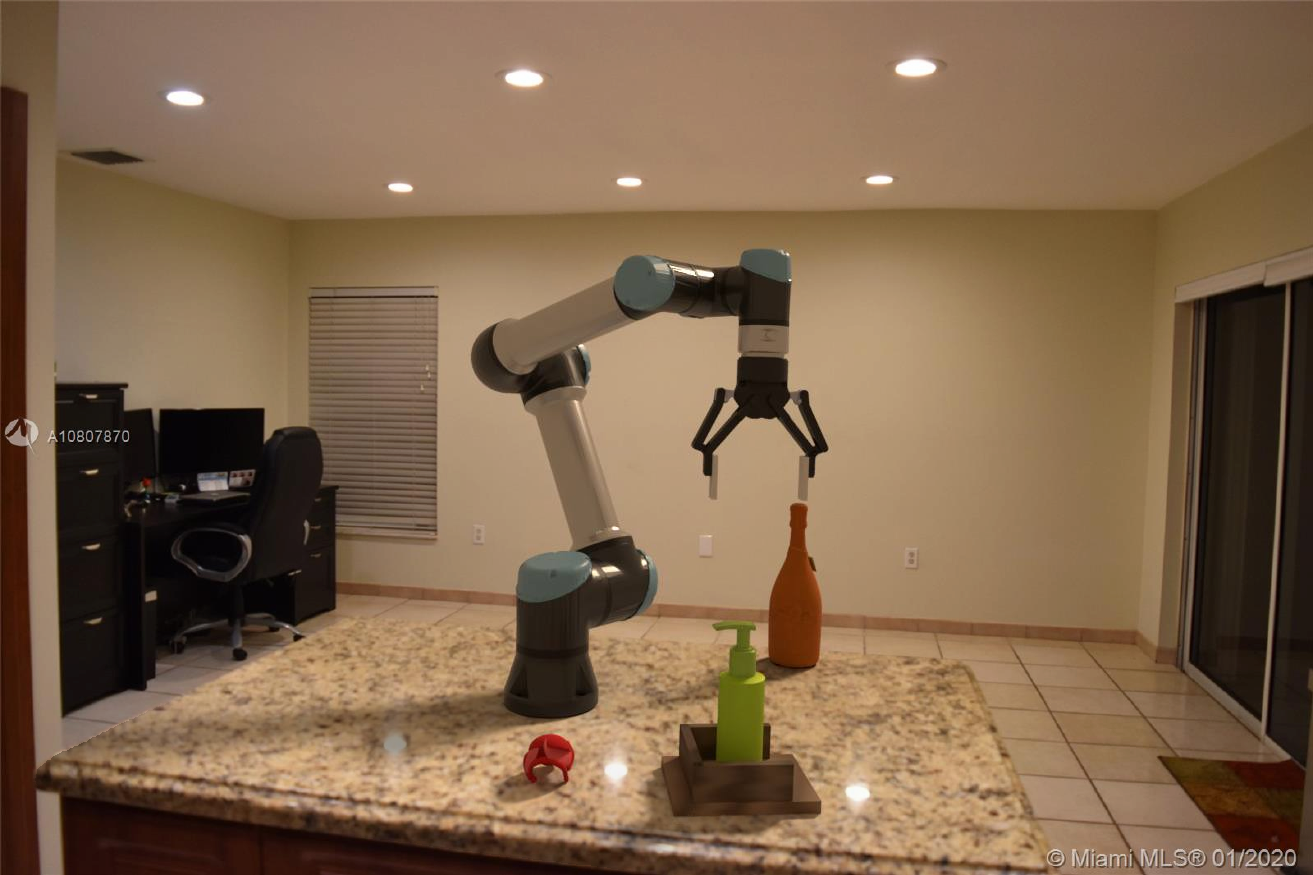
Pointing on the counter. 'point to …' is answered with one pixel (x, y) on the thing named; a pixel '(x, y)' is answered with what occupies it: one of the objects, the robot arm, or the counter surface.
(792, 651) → the wine bottle
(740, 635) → the soap dispenser
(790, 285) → the robot arm
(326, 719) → the counter surface
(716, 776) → the u rest
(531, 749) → the cap
